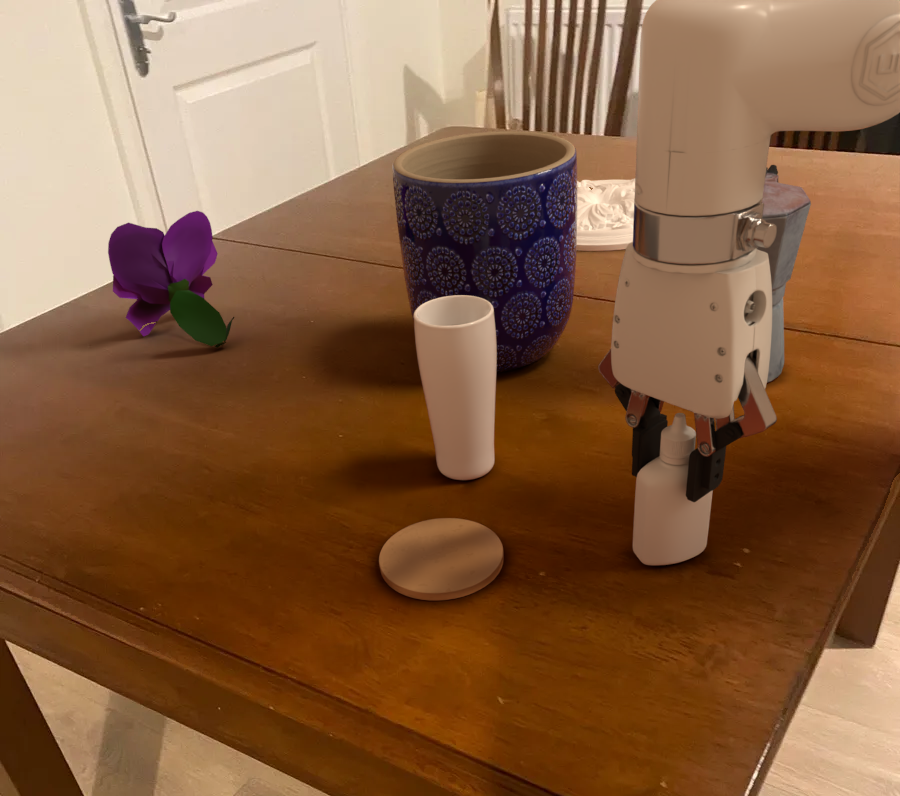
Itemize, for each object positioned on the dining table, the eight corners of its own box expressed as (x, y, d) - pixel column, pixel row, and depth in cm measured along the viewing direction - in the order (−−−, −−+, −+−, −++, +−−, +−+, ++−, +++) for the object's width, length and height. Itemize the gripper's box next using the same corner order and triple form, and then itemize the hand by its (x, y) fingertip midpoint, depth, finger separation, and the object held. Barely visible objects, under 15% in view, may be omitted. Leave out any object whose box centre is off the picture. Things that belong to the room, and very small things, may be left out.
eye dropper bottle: (635, 533, 74) (641, 399, 67) (706, 537, 73) (721, 401, 65) (630, 566, 71) (637, 429, 63) (705, 571, 70) (721, 432, 62)
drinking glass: (511, 452, 86) (504, 296, 76) (490, 491, 81) (480, 329, 72) (444, 445, 88) (428, 292, 78) (419, 483, 83) (400, 324, 74)
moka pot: (675, 396, 92) (692, 185, 79) (703, 333, 102) (723, 138, 90) (774, 406, 89) (809, 188, 76) (793, 340, 99) (826, 139, 87)
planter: (551, 396, 94) (548, 183, 81) (387, 380, 100) (360, 179, 87) (593, 323, 107) (597, 130, 94) (446, 312, 113) (430, 129, 100)
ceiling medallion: (729, 197, 138) (732, 175, 136) (656, 261, 120) (657, 236, 118) (562, 182, 151) (562, 161, 149) (474, 237, 133) (473, 215, 131)
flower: (269, 360, 118) (207, 292, 121) (281, 269, 106) (211, 195, 109) (171, 403, 111) (108, 330, 114) (172, 311, 98) (100, 231, 101)
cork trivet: (529, 558, 73) (529, 550, 73) (435, 618, 68) (434, 610, 68) (446, 511, 79) (445, 503, 79) (355, 563, 74) (353, 556, 74)
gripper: (855, 236, 53) (805, 500, 65) (627, 190, 63) (619, 426, 75) (782, 276, 49) (742, 548, 61) (552, 221, 60) (556, 463, 71)
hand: (674, 479), depth 68 cm, fingers closed on eye dropper bottle, 4 cm apart
